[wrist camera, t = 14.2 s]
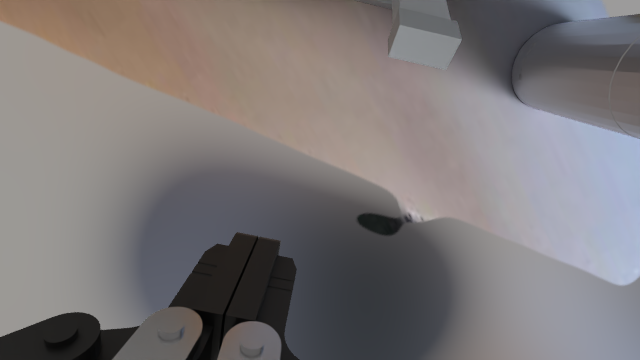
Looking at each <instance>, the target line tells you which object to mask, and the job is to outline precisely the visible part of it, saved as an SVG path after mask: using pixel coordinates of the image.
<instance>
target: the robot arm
mask: <svg viewBox="0 0 640 360" xmlns="http://www.w3.org/2000/svg"><path fill="white" fill-rule="evenodd" d="M512 85H513V88H514V91H515V93H516V95H517V96H518V98H519V99H520V100H521V101H522V102H523V103H524V104H526V105H528V106H530V107H532V108H535V109H538V110H542V111H545V112H549V113H552V114H555V115H559V116H562V117H565V118H569V119H572V120H576V121H579V122H583V123H586V124H590V125H593V126H597V127H600V128H604V129H607V130H611V131H614V132H617V133H621V134H624V135H628V136H631V137H635V138H638V139H640V14H637V15H628V16H619V17H610V18H601V19H592V20H583V21H574V22H566V23H559V24H554V25H551V26H548V27H546V28H544V29H542V30H540V31H539V32H537V33H536V34H534V35H533V36H532V37H531V38H530V39H529V40H528V41H527V42H526V43H525V44H524V45H523V47H522V48H521V49H520V51H519V53H518V55H517V57H516V59H515V62H514V65H513V68H512ZM280 242H281V241H279V240H274V239H269V238H263V237H259V239H258V236H254V235H248V234H243V233H238V232H237V233H236V234H235V236H234V237H233V239H232V241H231V243H230V245H229V246H226V245H221V244H216V245H215V246H213V247H212V248H210V249H208V250H207V251H205V253H204V254H203V256H202V257H201V259H200V260H199V262H198V264H197V265H196V266H195V268H194V269H193V271H192V273H191V274H190V275H189V277H188V278H187V280H186V281H185V283H184V284H183V286H182V287H181V289H180V291H179V292H178V293H177V295H176V296H175V298H174V299H173V301H172V303H171V304H170V305H169V307H168V308H165V309H162V310H159V311H157V312H155V313H153V314H152V315H151V316H149V317H148V318H147V319H146V320H145V321H144V322H143V323H142V324H141V325H140V326H137V327H132V328H123V329H111V330H100V324H99V321H98V320H97V319H96V318H95V317H94V316H92V315H90V314H86V313H79V312H77V313H76V312H75V313H66V314H61V315H58V316H55V317H52V318H49V319H47V320H44V321H41V322H39V323H36V324H34V325H31V326H29V327H26V328H23V329H21V330H18V331H15V332H13V333H10V334H7V335H5V336H2V337H0V360H299V359H298V358H297V357H296V356H294V355H293V354H292V352H291V351H290V350H289V348H288V347H287V344H286V342H285V337H284V332H285V326H286V320H287V316H288V310H289V305H290V300H291V295H292V290H293V285H294V280H295V274H296V267H295V264H294V261H293V259H292V258H287V257H282V256H278V254H279V249H280Z"/></svg>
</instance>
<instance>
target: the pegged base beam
mask: <svg viewBox="0 0 640 360" xmlns="http://www.w3.org/2000/svg"><path fill="white" fill-rule="evenodd" d="M355 1H359V2H363V3H368V4H372V5H376V6H380V7H385V8H389V9H392V0H355Z"/></svg>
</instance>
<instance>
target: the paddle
mask: <svg viewBox="0 0 640 360" xmlns="http://www.w3.org/2000/svg"><path fill="white" fill-rule="evenodd" d="M461 41H462V37H461V33H460V29H459V26H458V22H457V21H454V20H451V18H450V14H449V10H448V6H447V2H446V0H392V29H391V32H390V35H389V38H388V57H391V58H395V59H399V60H404V61H408V62H412V63H417V64H421V65H426V66H430V67H434V68H439V69H443V70H446V69H447V67H448V65H449V63H450V61H451V60H452V58H453V56H454V54H455V52H456V50H457V48H458V46H459V45H460V43H461Z"/></svg>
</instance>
